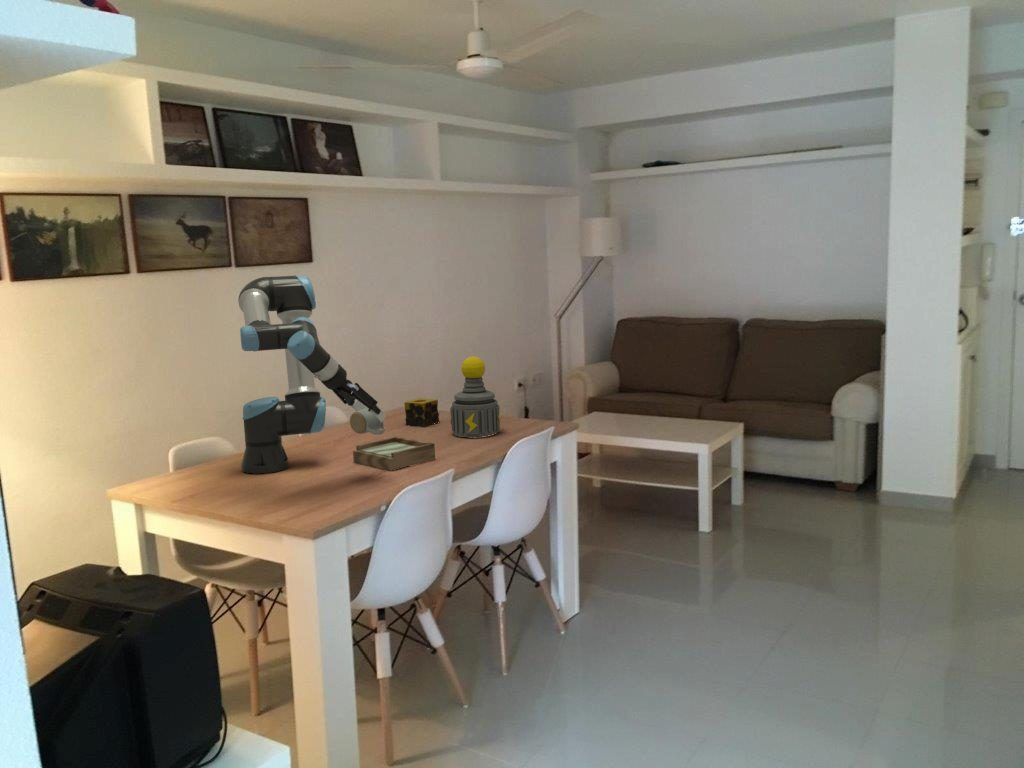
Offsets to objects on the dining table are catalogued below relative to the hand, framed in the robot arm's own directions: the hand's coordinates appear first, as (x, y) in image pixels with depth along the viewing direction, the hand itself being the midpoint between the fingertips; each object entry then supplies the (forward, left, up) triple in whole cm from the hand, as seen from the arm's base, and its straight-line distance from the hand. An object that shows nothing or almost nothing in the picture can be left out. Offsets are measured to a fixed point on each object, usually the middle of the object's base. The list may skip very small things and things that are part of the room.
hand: (375, 417), depth 266 cm
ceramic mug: (+1, -3, -4) cm, 6 cm away
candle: (-49, +62, -19) cm, 81 cm away
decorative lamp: (-17, +61, -19) cm, 66 cm away
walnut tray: (-9, +14, -18) cm, 25 cm away
